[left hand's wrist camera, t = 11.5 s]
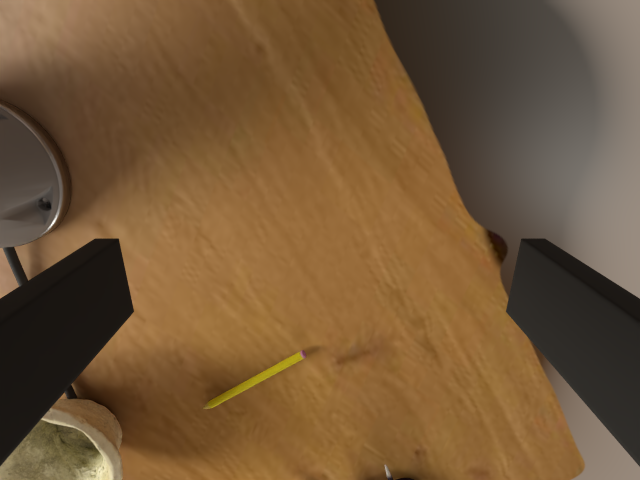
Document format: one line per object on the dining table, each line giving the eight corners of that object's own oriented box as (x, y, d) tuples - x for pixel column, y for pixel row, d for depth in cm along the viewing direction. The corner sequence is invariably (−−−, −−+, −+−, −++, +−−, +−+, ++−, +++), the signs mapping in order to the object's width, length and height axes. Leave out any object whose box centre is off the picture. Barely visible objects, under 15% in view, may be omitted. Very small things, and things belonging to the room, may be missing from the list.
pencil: (301, 348, 47) (301, 353, 46) (306, 353, 47) (306, 359, 46) (200, 403, 50) (198, 409, 49) (205, 408, 50) (203, 414, 49)
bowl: (135, 432, 58) (31, 511, 50) (69, 346, 50) (-64, 425, 43) (162, 493, 47) (36, 604, 40) (84, 397, 40) (-89, 512, 32)
